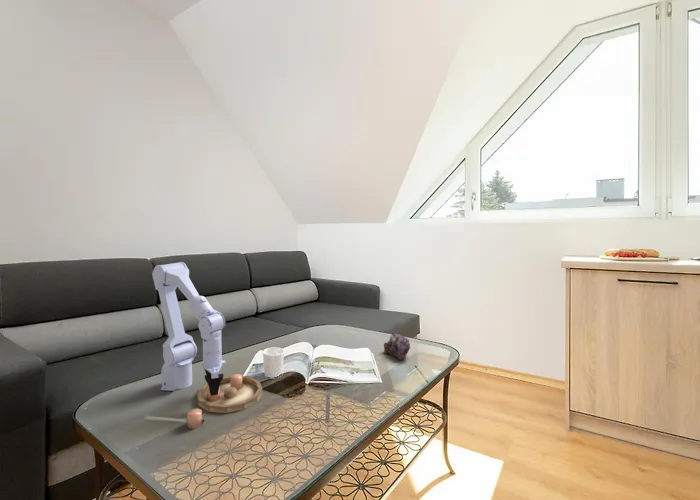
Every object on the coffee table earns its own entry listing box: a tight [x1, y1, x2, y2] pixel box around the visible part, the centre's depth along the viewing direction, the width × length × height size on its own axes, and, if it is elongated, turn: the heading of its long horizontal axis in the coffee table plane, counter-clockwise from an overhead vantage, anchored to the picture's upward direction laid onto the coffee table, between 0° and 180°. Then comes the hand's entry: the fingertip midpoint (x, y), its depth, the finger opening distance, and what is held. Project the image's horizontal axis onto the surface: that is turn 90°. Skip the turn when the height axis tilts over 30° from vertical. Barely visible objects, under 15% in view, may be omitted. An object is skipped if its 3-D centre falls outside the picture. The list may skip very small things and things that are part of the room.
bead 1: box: [186, 408, 203, 430], centre depth 112 cm, size 4×4×4 cm
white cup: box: [262, 346, 285, 379], centre depth 143 cm, size 8×8×10 cm
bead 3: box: [230, 373, 243, 390], centre depth 133 cm, size 4×4×4 cm
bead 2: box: [207, 386, 220, 402], centre depth 125 cm, size 4×4×4 cm
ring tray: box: [197, 375, 263, 414], centre depth 128 cm, size 20×20×3 cm
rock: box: [383, 333, 411, 361], centre depth 166 cm, size 12×9×10 cm
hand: (212, 389), depth 125 cm, fingers open, 7 cm apart
